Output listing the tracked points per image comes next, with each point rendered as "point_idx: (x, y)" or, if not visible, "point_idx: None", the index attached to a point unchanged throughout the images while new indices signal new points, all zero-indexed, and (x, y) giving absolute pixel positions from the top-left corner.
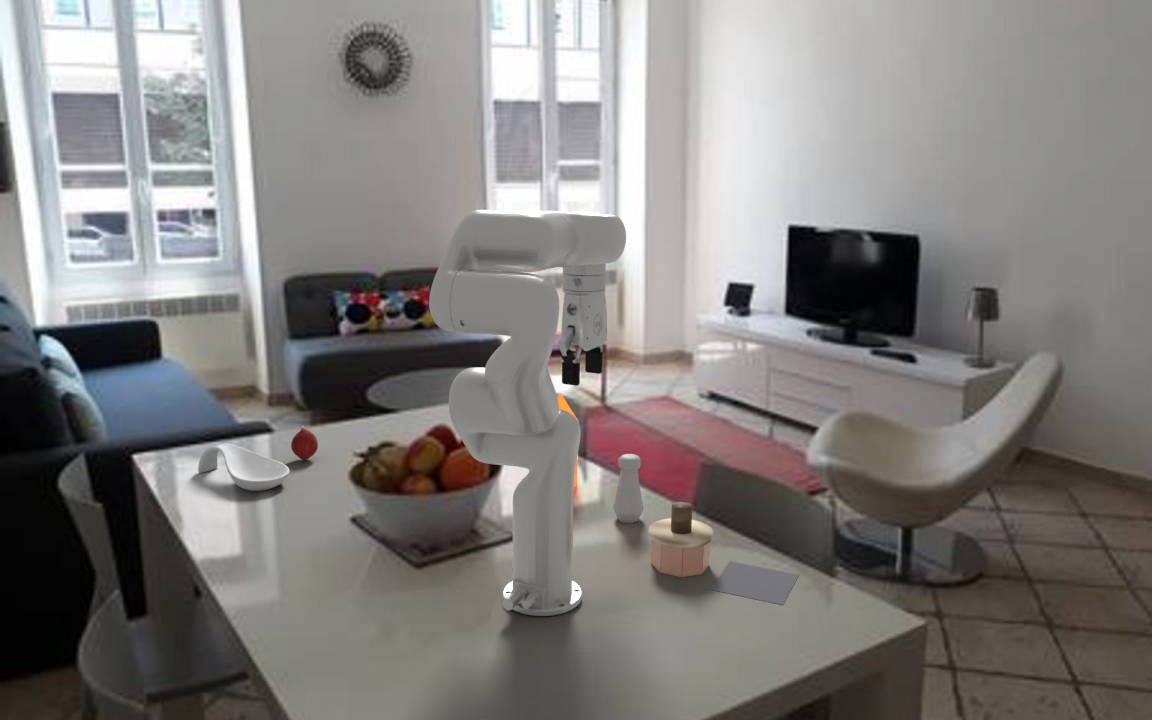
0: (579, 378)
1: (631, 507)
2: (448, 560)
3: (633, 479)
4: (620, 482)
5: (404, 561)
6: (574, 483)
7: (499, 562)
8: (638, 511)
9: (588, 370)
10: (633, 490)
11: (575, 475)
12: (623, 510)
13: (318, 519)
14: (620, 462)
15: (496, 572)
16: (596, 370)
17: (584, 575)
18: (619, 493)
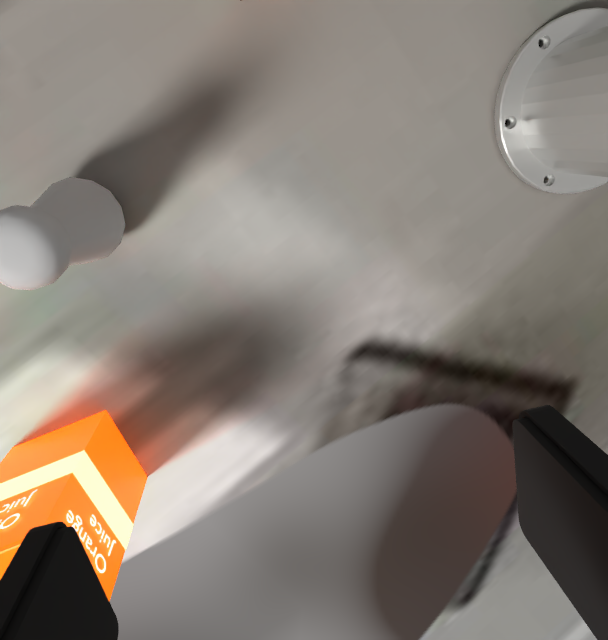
0: (557, 436)
1: (102, 193)
2: (519, 369)
3: (56, 211)
4: (84, 249)
5: None
6: (31, 444)
7: (476, 291)
8: (85, 179)
9: (106, 619)
10: (73, 202)
11: (15, 459)
12: (119, 212)
13: (497, 631)
14: (64, 264)
15: (517, 264)
16: (75, 568)
17: (432, 101)
18: (100, 241)
